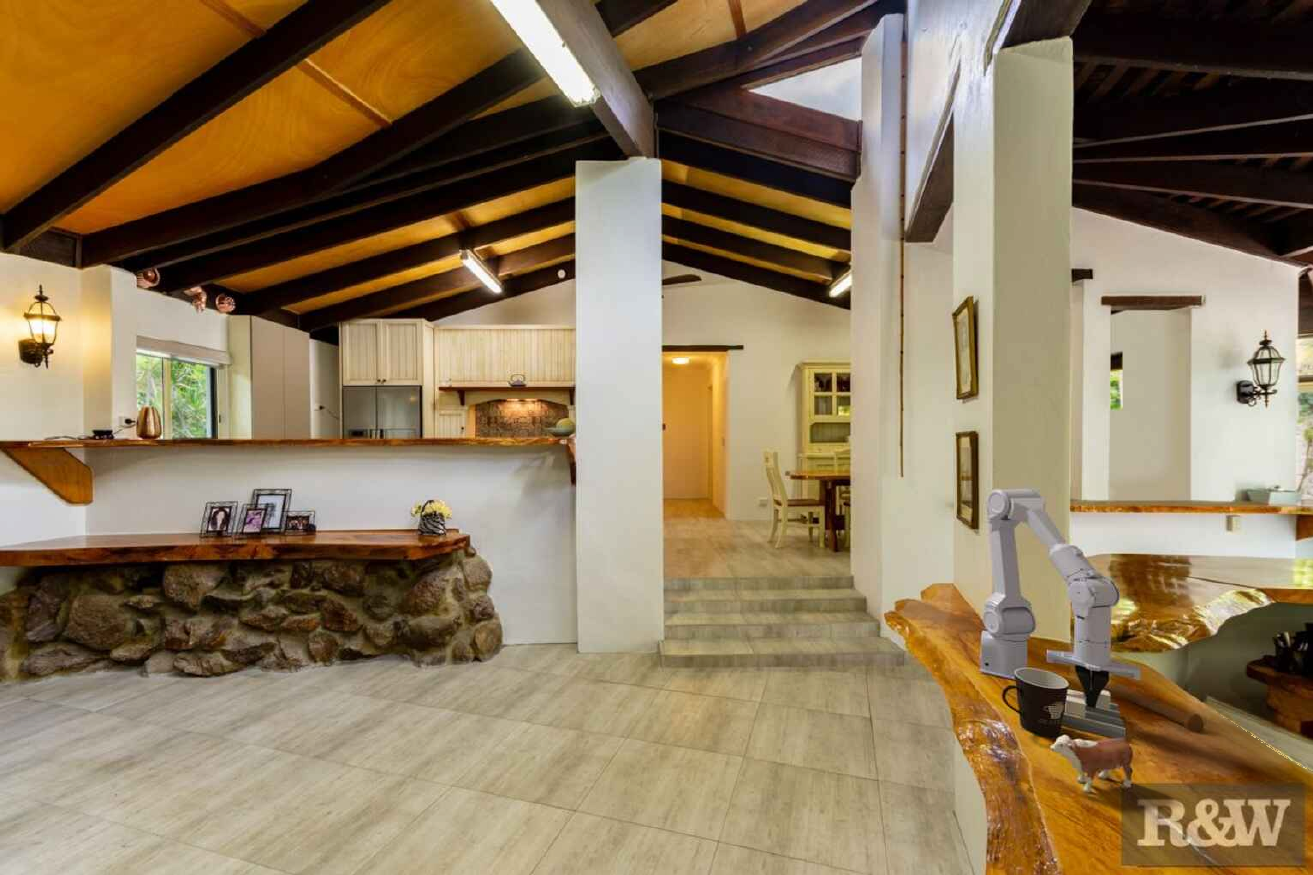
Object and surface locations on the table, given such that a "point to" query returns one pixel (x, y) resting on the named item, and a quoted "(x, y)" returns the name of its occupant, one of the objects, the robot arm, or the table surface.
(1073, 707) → the tab
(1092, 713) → the switch board
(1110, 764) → the bull figurine
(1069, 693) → the tab
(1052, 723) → the coffee mug
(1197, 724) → the primitive tool
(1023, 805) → the table surface
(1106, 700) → the tab
